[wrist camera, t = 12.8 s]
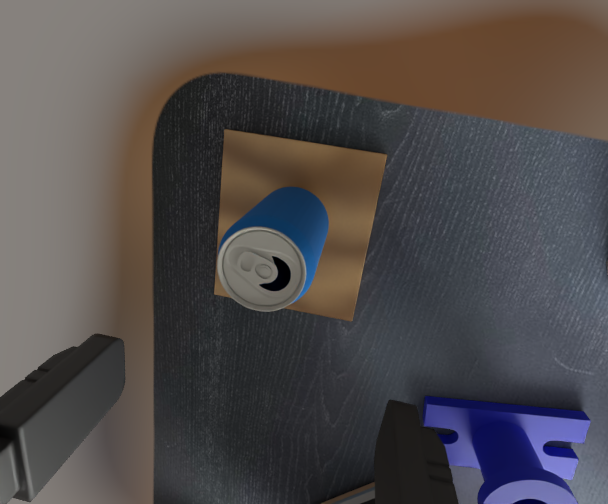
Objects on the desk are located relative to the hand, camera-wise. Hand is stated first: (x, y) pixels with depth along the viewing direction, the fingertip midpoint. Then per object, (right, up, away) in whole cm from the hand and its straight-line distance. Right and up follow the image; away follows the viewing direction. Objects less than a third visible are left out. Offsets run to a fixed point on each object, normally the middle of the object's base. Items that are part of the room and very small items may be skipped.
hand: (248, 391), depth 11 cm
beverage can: (+1, +7, +24) cm, 25 cm away
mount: (+22, -15, +29) cm, 39 cm away
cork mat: (+1, +6, +24) cm, 25 cm away
